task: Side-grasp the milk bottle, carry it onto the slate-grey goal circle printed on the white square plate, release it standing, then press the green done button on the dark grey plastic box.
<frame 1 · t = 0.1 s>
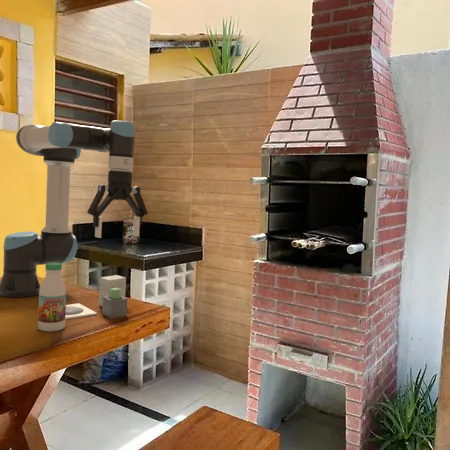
hand: (117, 236, 149), 28 cm above the table, tool pointing down, fingers open, 13 cm apart
small box: (111, 305, 170), on the table
button box: (114, 314, 158), on the table
white square plate: (68, 312, 157), on the table
done button: (115, 296, 158), point 6 cm above the table, slide at 0.0 cm
milk bottle: (51, 328, 140), on the table
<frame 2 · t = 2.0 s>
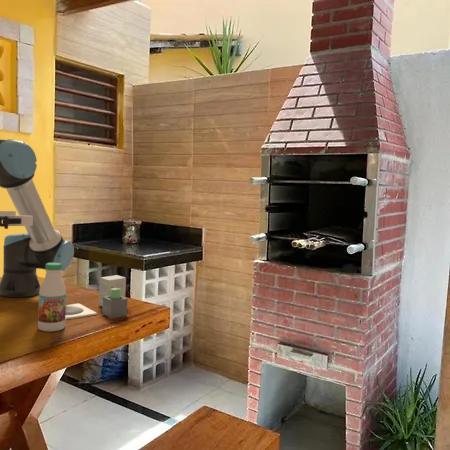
hand: (23, 218, 131), 34 cm above the table, tool horizontal, fingers open, 13 cm apart
nothing on the table moved.
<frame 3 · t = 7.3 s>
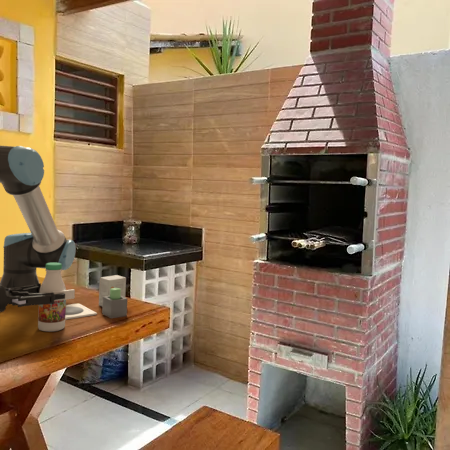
hand: (68, 290, 143), 11 cm above the table, tool horizontal, fingers closed on milk bottle, 8 cm apart
milk bottle: (51, 328, 140), on the table, touching gripper
everything else where it was.
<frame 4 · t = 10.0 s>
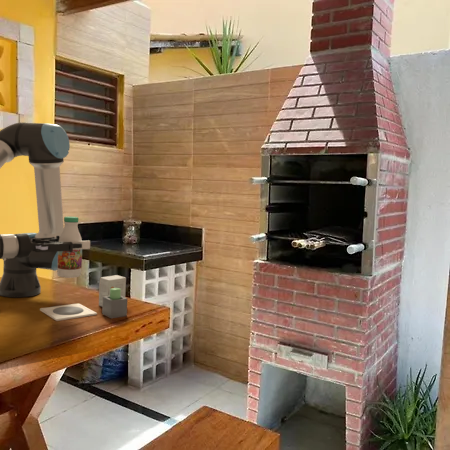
hand: (84, 242, 158), 24 cm above the table, tool horizontal, fingers closed on milk bottle, 8 cm apart
milk bottle: (69, 276, 156), point 13 cm above the table, touching gripper
everything else where it was.
when the fingers open (13 cm above the table, at t = 12.6 s): milk bottle drops 1 cm, resting on white square plate.
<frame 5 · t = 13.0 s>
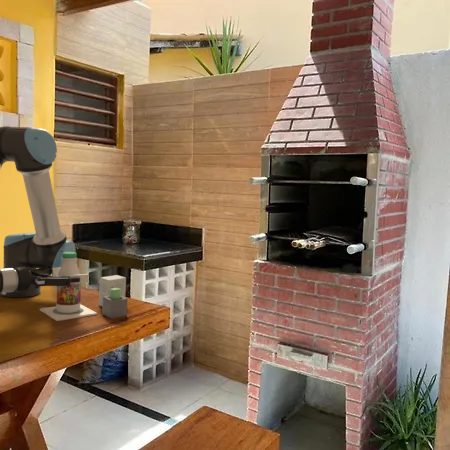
hand: (79, 274, 158), 13 cm above the table, tool horizontal, fingers open, 13 cm apart
milk bottle: (68, 311, 157), point 1 cm above the table, touching white square plate
everything else where it was.
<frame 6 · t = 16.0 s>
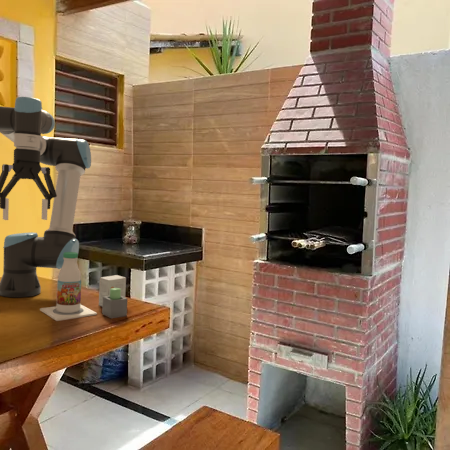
hand: (25, 219, 144), 32 cm above the table, tool pointing down, fingers open, 11 cm apart
nothing on the table moved.
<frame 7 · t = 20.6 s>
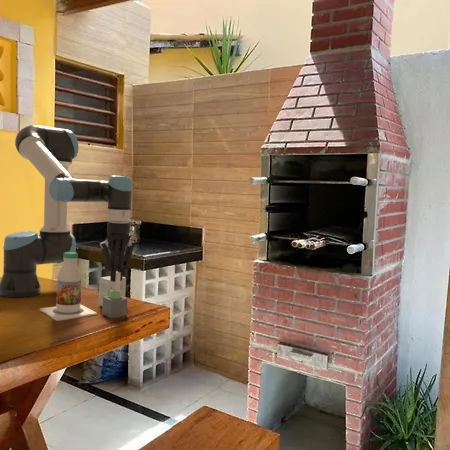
hand: (115, 290, 157), 9 cm above the table, tool pointing down, fingers closed
done button: (115, 298, 158), point 6 cm above the table, slide at 0.7 cm, touching gripper
everything else where it was.
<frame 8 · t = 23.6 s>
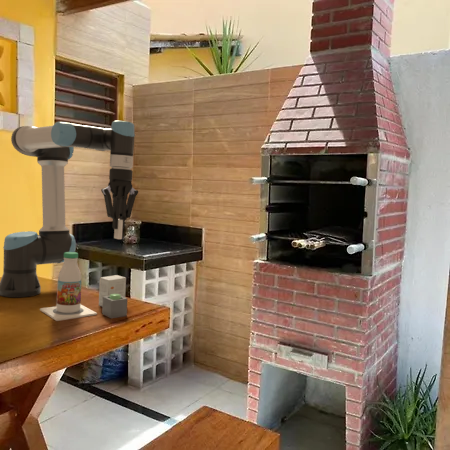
hand: (118, 238, 156), 26 cm above the table, tool pointing down, fingers closed
done button: (115, 302, 158), point 4 cm above the table, slide at 2.1 cm
everything else where it was.
at the end: milk bottle 0.2 cm from the white square plate (horizontally); milk bottle tilted 0°; done button slide at 2.1 cm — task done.
